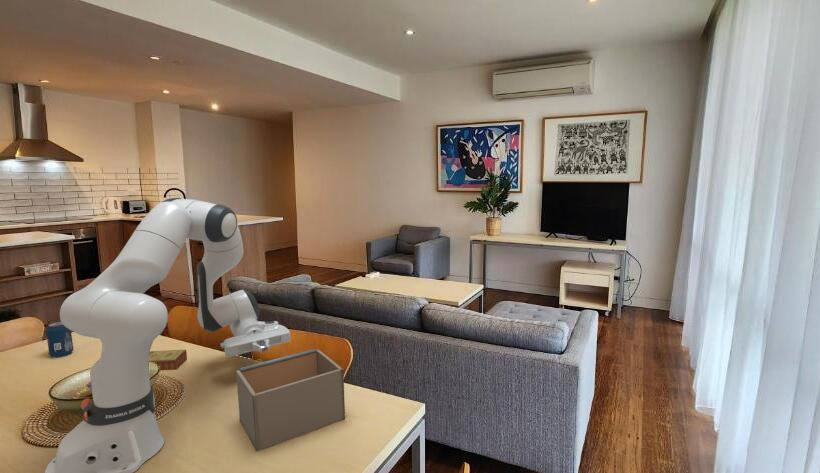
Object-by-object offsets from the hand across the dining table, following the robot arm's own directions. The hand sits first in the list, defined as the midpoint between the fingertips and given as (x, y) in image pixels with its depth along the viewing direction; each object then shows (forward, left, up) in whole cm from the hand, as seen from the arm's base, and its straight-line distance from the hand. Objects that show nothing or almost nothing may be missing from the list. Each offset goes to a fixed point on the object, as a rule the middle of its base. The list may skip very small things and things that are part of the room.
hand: (264, 349), depth 130 cm
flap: (0, -16, -11) cm, 19 cm away
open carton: (0, -23, -12) cm, 26 cm away
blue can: (-54, +69, -12) cm, 88 cm away
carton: (-26, +37, -12) cm, 47 cm away
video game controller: (-41, +22, -12) cm, 48 cm away
